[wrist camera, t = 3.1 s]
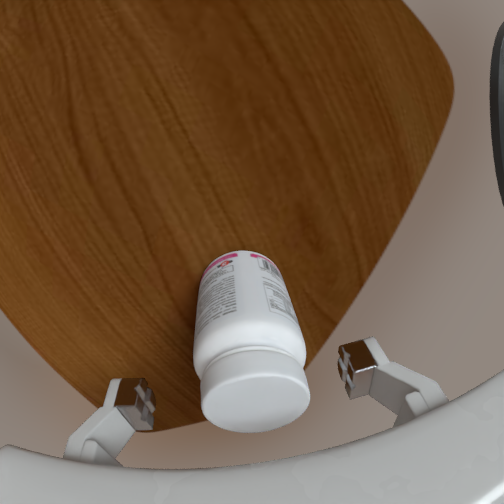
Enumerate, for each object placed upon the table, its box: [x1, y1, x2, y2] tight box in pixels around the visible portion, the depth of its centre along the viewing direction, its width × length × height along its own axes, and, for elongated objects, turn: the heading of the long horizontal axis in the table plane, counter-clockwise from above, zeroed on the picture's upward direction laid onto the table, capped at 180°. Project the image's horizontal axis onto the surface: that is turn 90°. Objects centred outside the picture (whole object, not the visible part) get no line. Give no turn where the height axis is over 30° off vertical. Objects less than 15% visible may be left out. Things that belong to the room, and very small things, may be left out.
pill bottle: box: [193, 251, 310, 433], centre depth 13 cm, size 5×5×8 cm
